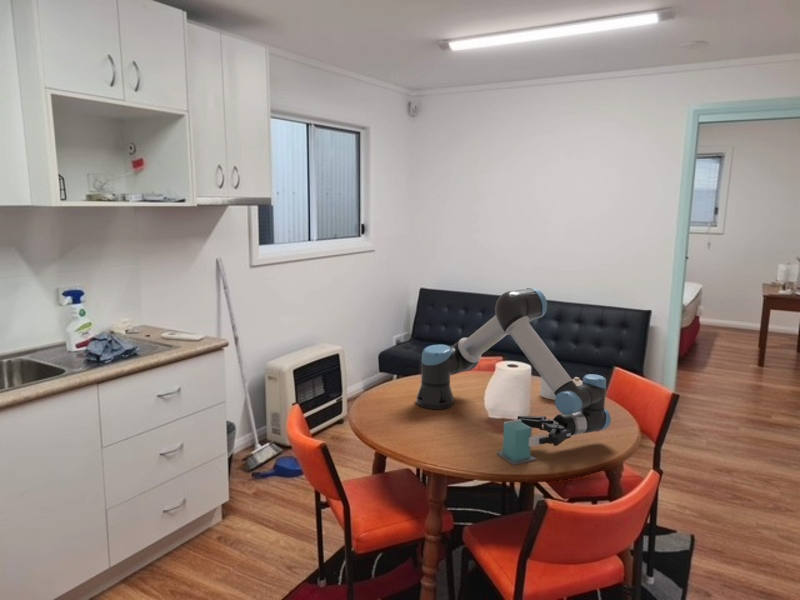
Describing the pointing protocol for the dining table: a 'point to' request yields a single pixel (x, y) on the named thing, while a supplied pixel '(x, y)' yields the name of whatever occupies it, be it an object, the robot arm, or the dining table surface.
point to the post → (515, 460)
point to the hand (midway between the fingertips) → (516, 433)
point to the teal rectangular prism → (516, 440)
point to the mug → (546, 390)
